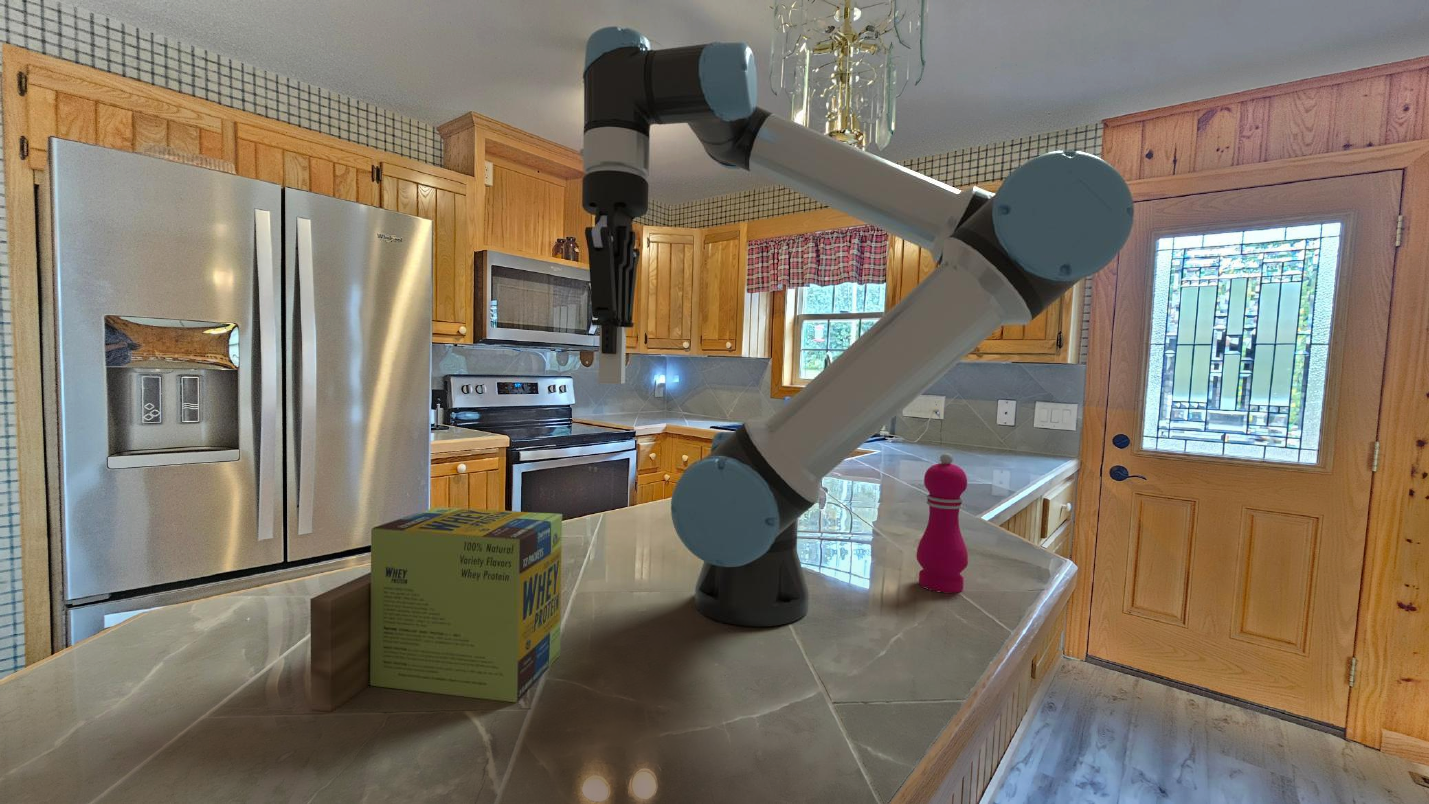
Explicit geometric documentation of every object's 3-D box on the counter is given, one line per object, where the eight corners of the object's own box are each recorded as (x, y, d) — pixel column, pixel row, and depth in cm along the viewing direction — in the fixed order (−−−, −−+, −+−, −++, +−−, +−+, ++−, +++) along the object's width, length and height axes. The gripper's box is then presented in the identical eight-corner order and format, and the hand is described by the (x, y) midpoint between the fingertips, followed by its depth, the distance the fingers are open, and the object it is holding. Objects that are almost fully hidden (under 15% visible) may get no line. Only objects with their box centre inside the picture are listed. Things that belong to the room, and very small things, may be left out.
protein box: (519, 704, 57) (521, 537, 57) (367, 687, 60) (367, 527, 59) (563, 654, 68) (565, 512, 67) (432, 641, 70) (433, 504, 69)
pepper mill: (976, 589, 92) (983, 454, 91) (946, 598, 88) (953, 457, 87) (935, 575, 98) (940, 449, 97) (905, 583, 94) (910, 451, 93)
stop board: (457, 622, 75) (458, 540, 75) (330, 711, 55) (330, 600, 55) (442, 621, 75) (443, 539, 75) (310, 709, 56) (310, 598, 55)
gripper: (603, 194, 79) (599, 381, 80) (562, 159, 66) (558, 382, 67) (661, 193, 77) (657, 383, 79) (630, 157, 65) (626, 384, 66)
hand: (611, 382), depth 73 cm, fingers closed
